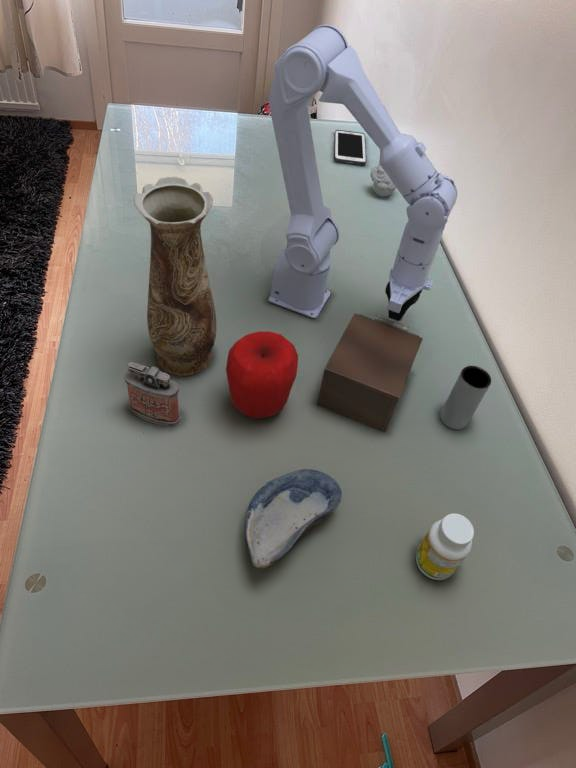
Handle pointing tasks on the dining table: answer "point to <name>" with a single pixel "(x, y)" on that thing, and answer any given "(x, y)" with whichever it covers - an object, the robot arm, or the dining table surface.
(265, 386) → the apple
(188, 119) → the dining table surface
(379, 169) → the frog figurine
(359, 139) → the cell phone
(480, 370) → the gray cylindrical tube
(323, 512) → the seashell
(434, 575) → the supplement bottle
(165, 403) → the lighter
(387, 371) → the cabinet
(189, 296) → the vase
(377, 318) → the drawer
